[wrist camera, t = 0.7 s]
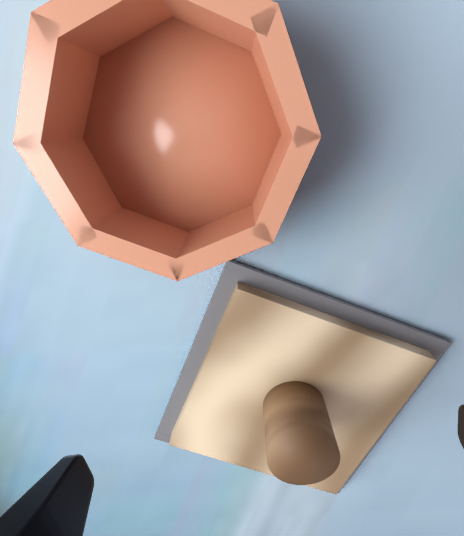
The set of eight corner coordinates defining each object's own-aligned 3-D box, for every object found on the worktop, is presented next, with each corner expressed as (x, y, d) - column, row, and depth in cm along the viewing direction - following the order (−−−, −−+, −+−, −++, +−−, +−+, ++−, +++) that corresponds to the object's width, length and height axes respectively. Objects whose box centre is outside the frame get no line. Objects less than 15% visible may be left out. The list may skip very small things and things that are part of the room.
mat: (448, 339, 22) (451, 343, 22) (337, 488, 28) (338, 493, 28) (227, 258, 21) (227, 260, 20) (155, 434, 26) (154, 438, 26)
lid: (428, 350, 22) (477, 410, 18) (332, 481, 27) (351, 555, 22) (237, 281, 21) (236, 326, 16) (171, 433, 26) (156, 501, 21)
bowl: (330, 64, 17) (364, 43, 12) (243, 264, 21) (244, 305, 16) (104, -39, 16) (46, -106, 11) (58, 196, 20) (2, 219, 15)
